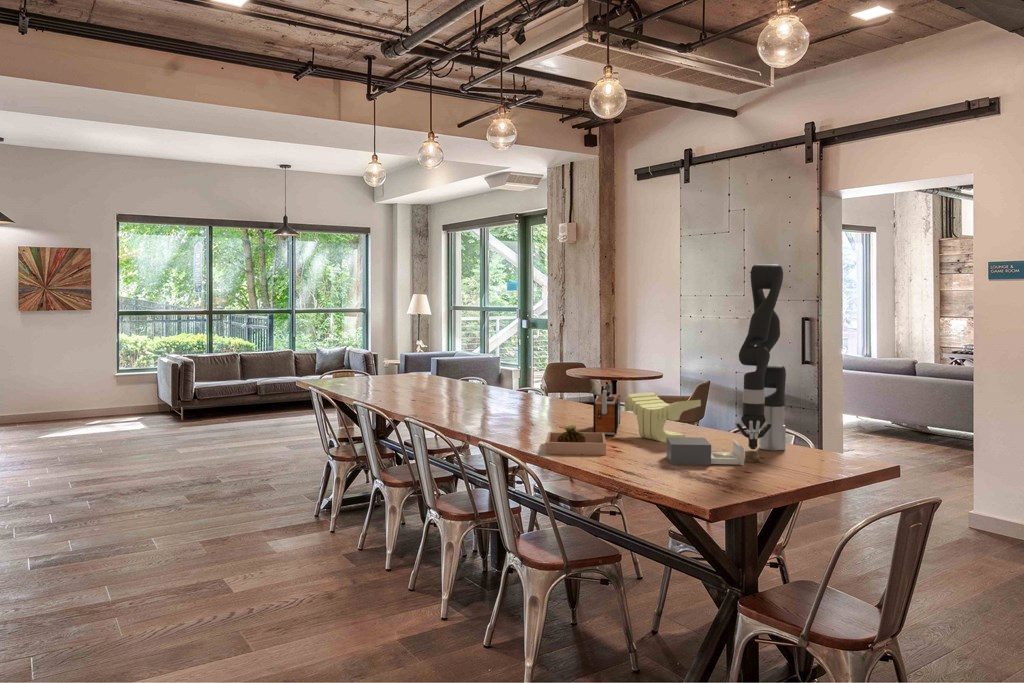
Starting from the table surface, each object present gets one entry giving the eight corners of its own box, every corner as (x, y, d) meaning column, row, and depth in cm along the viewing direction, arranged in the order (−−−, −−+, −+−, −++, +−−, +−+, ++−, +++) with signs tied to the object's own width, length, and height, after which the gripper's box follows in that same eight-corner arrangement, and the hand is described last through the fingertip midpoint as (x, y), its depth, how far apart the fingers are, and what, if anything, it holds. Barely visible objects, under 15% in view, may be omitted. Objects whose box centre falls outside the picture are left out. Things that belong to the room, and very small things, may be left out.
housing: (705, 457, 281) (705, 437, 280) (711, 465, 266) (711, 445, 266) (666, 456, 282) (666, 437, 281) (670, 464, 268) (671, 444, 267)
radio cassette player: (616, 437, 323) (616, 391, 322) (592, 436, 325) (592, 390, 324) (620, 426, 352) (620, 383, 351) (598, 425, 354) (598, 383, 353)
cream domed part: (729, 457, 276) (729, 452, 276) (733, 460, 270) (733, 456, 270) (713, 456, 276) (713, 452, 276) (716, 460, 270) (716, 455, 270)
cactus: (555, 444, 308) (555, 420, 308) (594, 446, 303) (594, 422, 303) (544, 452, 292) (544, 427, 291) (584, 454, 287) (584, 429, 286)
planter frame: (604, 443, 308) (604, 432, 308) (606, 454, 285) (606, 443, 285) (548, 442, 310) (548, 432, 310) (545, 453, 287) (545, 442, 287)
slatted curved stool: (624, 434, 328) (624, 394, 327) (652, 431, 336) (653, 392, 335) (670, 446, 302) (671, 402, 301) (700, 442, 310) (700, 399, 309)
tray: (735, 457, 279) (735, 440, 279) (743, 465, 265) (743, 447, 265) (697, 456, 281) (697, 440, 280) (703, 464, 267) (703, 447, 266)
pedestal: (757, 460, 275) (757, 450, 275) (760, 463, 270) (760, 453, 270) (743, 459, 276) (743, 450, 275) (746, 462, 271) (746, 453, 270)
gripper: (737, 402, 267) (736, 450, 268) (775, 403, 266) (774, 451, 267) (732, 399, 275) (732, 446, 276) (769, 400, 274) (769, 447, 275)
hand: (752, 448), depth 272 cm, fingers closed
